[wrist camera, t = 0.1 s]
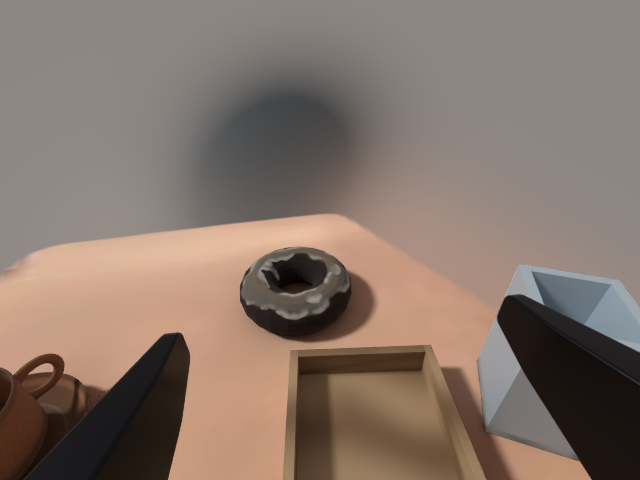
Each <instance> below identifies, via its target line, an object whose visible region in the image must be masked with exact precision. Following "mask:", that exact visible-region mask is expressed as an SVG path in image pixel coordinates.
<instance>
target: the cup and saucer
mask: <svg viewBox="0 0 640 480" xmlns="http://www.w3.org/2000/svg"><path fill="white" fill-rule="evenodd" d="M44 363H50V364H52V365H53V367H54V371H53V372H44V373H35V374H29V373H30V372H31V371H32V370H33V369H35V368H36V367H38V366H39V365H41V364H44ZM63 371H64V361H63V359H62V358H61V357H60V356H59V355H56V354H44V355H41V356H38V357H36V358H34V359H32V360H31V361H29V362H28V363H26V364H25V365H24V366H23V367H21V368H20V369H19V370H18V371H17V372H16V373H15V374H14V375H12V374H11V373H10V372H9V371H7V370H6V369H3V368H0V480H24V479H25V478H26V476H27V475H28V474H29V473H30V472H31V471H32V470H33V469H34V468H35V467H36V466H37V465H38V464H39V463H40V462H41V461H42V460H43V459H44V458H45V457H46V456H47V455H48V454H49V453H50V452H51V450H52V449H53V448H54V447H55V446H56V445H57V444H58V443H59V442H60V441H61V440H62V439H63V438H64V437H65V436H66V435H67V434H68V433H69V432H70V431H71V430H72V429H73V428H74V427H75V426H76V424H77V423H78V422H79V421H80V420H81V419H82V418H83V417H84V416H85V415H86V414H87V413H88V412H89V411H90V410H91V404H90V399H89V395H88V392H87V390H86V388H85V387H84V385H83V384H82V383H81V382H80V381H79V380H78V379H76V378H74V377H73V376H70V375H67V374H63ZM28 374H29V375H28Z"/></svg>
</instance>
